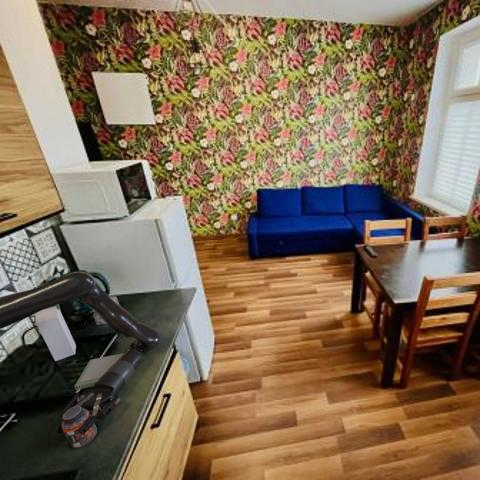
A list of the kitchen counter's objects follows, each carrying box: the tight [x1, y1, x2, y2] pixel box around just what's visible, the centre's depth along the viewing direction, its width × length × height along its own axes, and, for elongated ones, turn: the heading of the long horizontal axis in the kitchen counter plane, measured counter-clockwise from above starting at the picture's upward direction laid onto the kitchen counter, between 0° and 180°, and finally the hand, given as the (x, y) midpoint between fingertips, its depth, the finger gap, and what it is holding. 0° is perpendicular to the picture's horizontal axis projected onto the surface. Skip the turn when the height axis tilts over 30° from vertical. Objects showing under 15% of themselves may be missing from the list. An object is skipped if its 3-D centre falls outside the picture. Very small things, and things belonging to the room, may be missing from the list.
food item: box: [93, 295, 121, 326], centre depth 125 cm, size 14×8×10 cm, turn 28°
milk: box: [34, 307, 77, 362], centre depth 102 cm, size 6×6×22 cm
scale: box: [74, 352, 125, 391], centre depth 98 cm, size 12×12×3 cm
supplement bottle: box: [62, 406, 98, 449], centre depth 76 cm, size 6×6×11 cm
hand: (69, 431), depth 73 cm, fingers closed on supplement bottle, 6 cm apart
